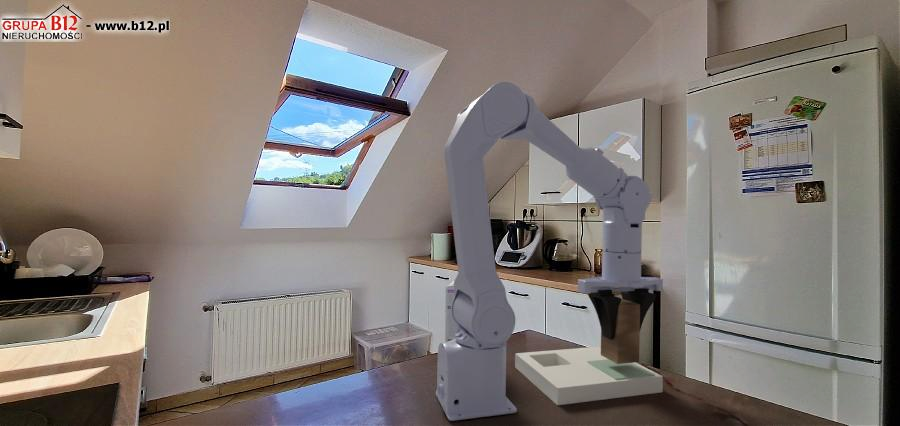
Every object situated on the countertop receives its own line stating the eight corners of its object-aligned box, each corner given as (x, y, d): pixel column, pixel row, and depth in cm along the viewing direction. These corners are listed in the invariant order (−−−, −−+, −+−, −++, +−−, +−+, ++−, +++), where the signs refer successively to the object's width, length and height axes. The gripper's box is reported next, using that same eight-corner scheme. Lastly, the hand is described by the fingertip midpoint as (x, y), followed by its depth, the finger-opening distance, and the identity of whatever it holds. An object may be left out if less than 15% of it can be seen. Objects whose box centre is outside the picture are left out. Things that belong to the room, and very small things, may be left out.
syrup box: (478, 372, 65) (479, 286, 65) (443, 369, 66) (445, 284, 66) (482, 360, 71) (483, 281, 71) (450, 357, 72) (451, 279, 72)
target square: (615, 379, 57) (615, 378, 57) (587, 362, 64) (587, 361, 64) (654, 375, 59) (654, 374, 59) (623, 359, 66) (623, 357, 66)
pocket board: (557, 405, 54) (557, 388, 54) (514, 367, 68) (515, 353, 68) (662, 392, 59) (662, 376, 59) (603, 358, 73) (603, 346, 73)
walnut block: (617, 364, 59) (618, 305, 59) (600, 354, 63) (601, 299, 63) (639, 362, 60) (640, 304, 61) (621, 353, 64) (622, 298, 64)
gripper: (598, 254, 56) (596, 348, 56) (679, 253, 60) (677, 341, 60) (570, 250, 63) (569, 333, 63) (644, 249, 67) (643, 328, 67)
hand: (620, 336), depth 62 cm, fingers closed on walnut block, 4 cm apart
